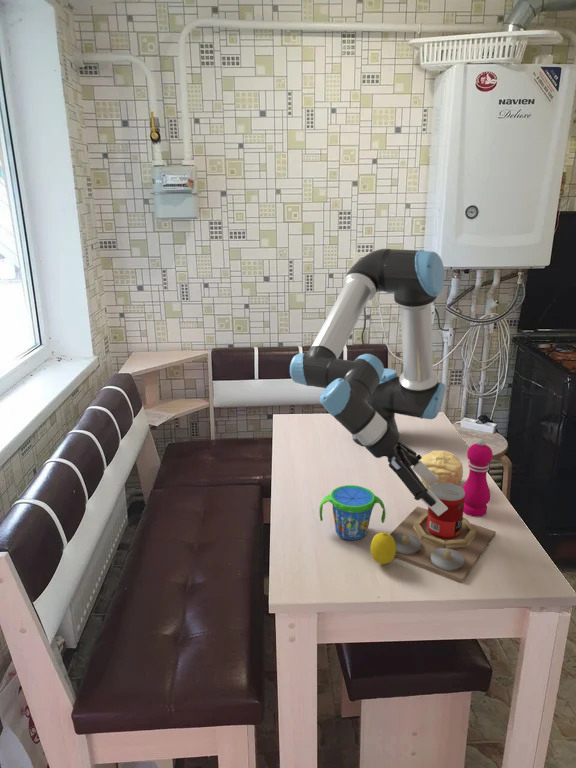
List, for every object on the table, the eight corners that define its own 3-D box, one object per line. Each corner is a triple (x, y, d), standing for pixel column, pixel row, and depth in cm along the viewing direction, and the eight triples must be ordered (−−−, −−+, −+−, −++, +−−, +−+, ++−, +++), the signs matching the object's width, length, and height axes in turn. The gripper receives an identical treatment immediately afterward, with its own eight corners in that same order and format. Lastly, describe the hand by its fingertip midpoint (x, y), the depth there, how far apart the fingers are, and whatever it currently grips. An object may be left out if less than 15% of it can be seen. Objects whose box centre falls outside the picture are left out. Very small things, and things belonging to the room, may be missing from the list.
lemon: (399, 563, 131) (401, 532, 128) (386, 575, 127) (387, 543, 124) (378, 553, 134) (380, 522, 132) (364, 564, 130) (366, 533, 128)
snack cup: (384, 523, 146) (386, 486, 143) (384, 548, 136) (386, 509, 133) (321, 518, 148) (321, 482, 145) (316, 542, 139) (317, 504, 135)
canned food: (462, 541, 137) (466, 499, 133) (426, 538, 138) (430, 496, 135) (459, 524, 144) (463, 483, 140) (426, 520, 145) (429, 480, 142)
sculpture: (414, 492, 161) (416, 456, 157) (424, 473, 171) (426, 439, 168) (457, 501, 156) (460, 464, 153) (464, 481, 167) (468, 446, 163)
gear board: (417, 509, 152) (418, 497, 151) (495, 535, 141) (496, 522, 140) (377, 550, 135) (377, 537, 134) (462, 583, 124) (463, 568, 123)
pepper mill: (453, 509, 152) (460, 438, 146) (469, 500, 156) (477, 430, 150) (478, 521, 147) (486, 447, 140) (494, 511, 151) (502, 439, 145)
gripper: (362, 424, 147) (419, 480, 150) (365, 470, 123) (433, 536, 127) (385, 404, 145) (442, 462, 148) (392, 448, 121) (460, 515, 125)
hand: (438, 496), depth 138 cm, fingers open, 13 cm apart
